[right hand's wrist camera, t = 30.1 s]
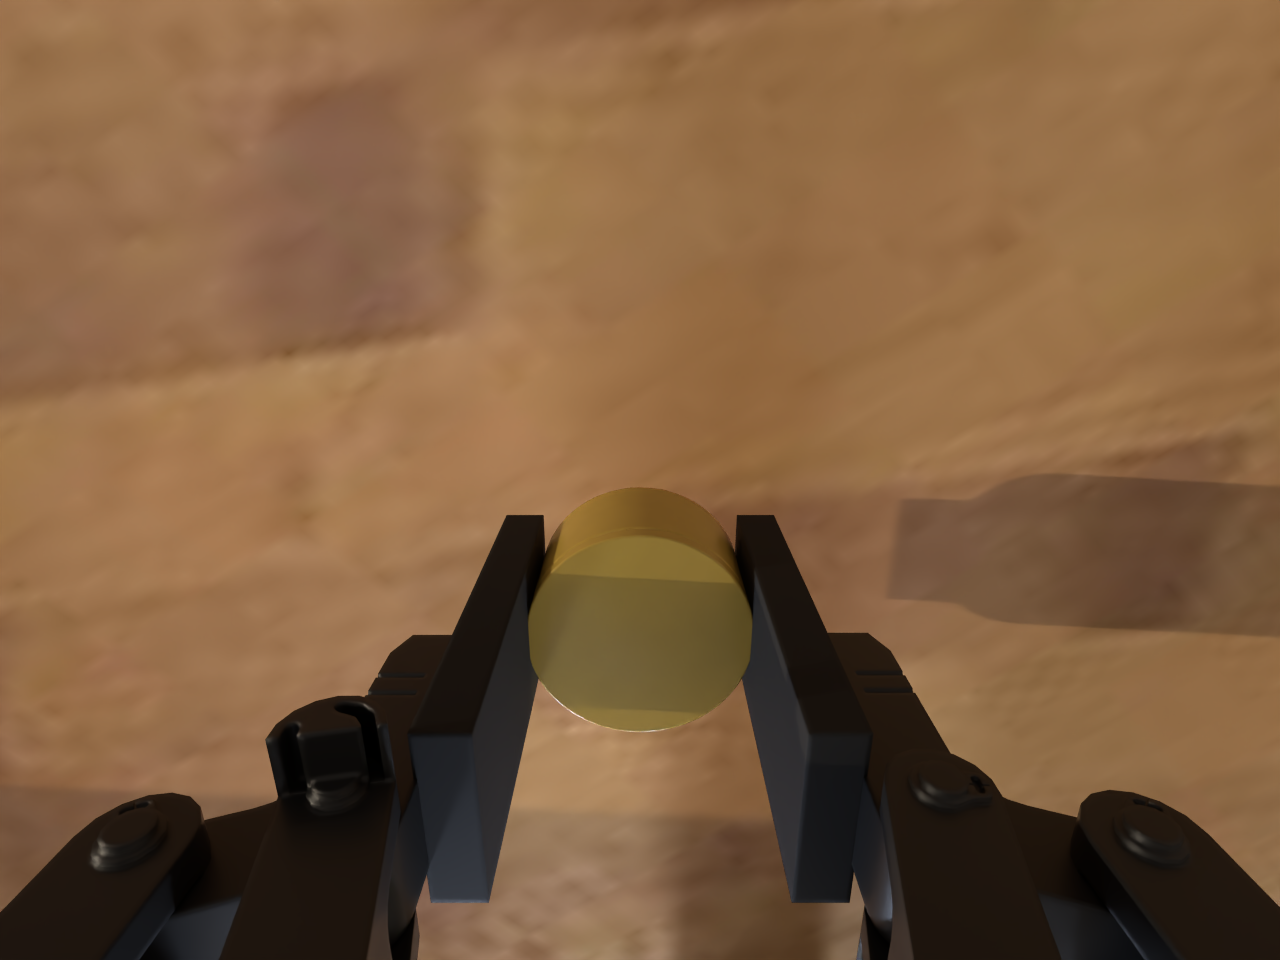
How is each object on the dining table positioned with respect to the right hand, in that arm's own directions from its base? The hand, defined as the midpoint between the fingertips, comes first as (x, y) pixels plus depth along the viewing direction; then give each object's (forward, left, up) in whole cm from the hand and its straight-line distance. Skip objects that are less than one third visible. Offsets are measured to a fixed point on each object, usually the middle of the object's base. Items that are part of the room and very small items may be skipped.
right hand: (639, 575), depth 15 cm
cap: (0, 0, +2) cm, 2 cm away
